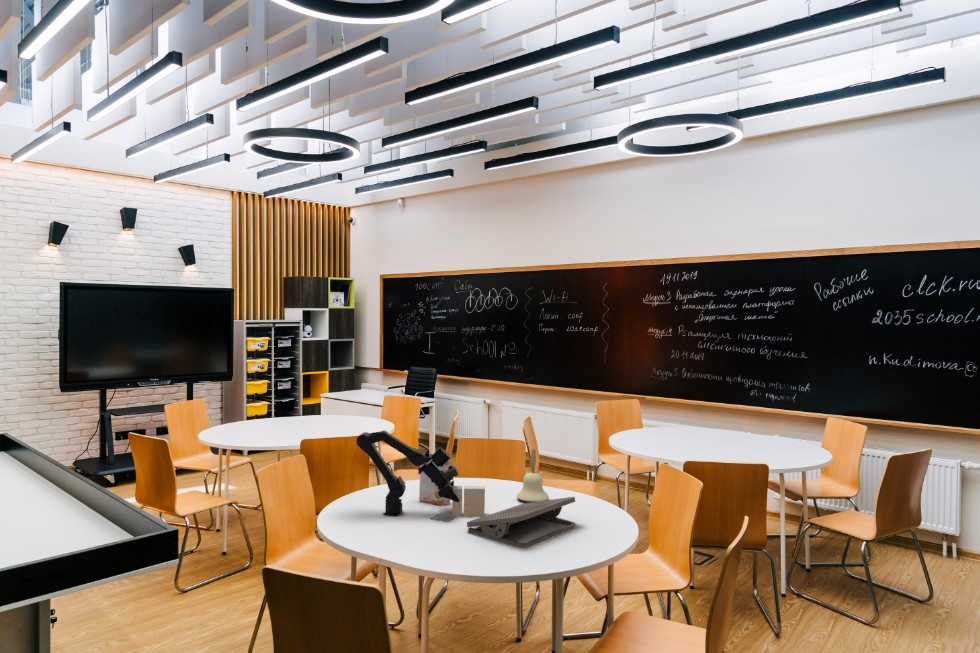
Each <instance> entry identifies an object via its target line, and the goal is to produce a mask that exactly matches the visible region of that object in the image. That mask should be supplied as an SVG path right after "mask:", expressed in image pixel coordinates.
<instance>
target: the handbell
mask: <svg viewBox="0 0 980 653" xmlns="http://www.w3.org/2000/svg"><path fill="white" fill-rule="evenodd" d="M536 453H537V452H536V448H535V447H532V448H531V450H530V470H531V471H530V472H527V473H526V474H525V475H524V476H523V479H522V484H523V485H522V489H521V490H520V491H519V492H518V493H517V494H516V498H517V499H519V500H521V501H523V502H524V501H525V502H530V503H531V502H539V501H546V500H549V494H548V493H547V492H546V491H545V490H544V487H543V477H542V475H541V474H540V473H538V472H535V470H536V465H537V464H536V463H537V455H536Z"/></svg>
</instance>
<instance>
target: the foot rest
mask: <svg viewBox="0 0 980 653" xmlns="http://www.w3.org/2000/svg"><path fill="white" fill-rule="evenodd" d="M575 502H576V497H575V496H569V497H563V498H554V499H547V500H545V501H538V502H531V501H530V502H525V503H520V504H518V505H515V506H512V507H509V508H506V509H503V510H499V511H496V512H494V513H491V514H486V515H484V516H480V517H478V518H475V519H472V520H470V521H469V520H468V521H467V522H466V527H467V532H468V533H471V534H474V535H477V536H481V537H484V538H487V539H491V540H493V541H496V542H500V543H503V544H506V545H509V546H512V547H515V548H519V549H526V548H530V547H532V546H535V545H537V544H540V543H541V542H544V541H546V540H548V539H552V538H554V537H556V536H558V535H559V536H560V535H561V534H563V533H566V532H568V531H570V530H573V529H575V528H576V522H575V521H572V520H569V519H568V520H567V519H564V518H560V517H559V515H560V513H561V511H562V509H563V508H562V507H564V506H567V505H570V504H573V503H575ZM534 517H535V518H537V517H538V518H541V519H544V520H547V521H548V520H549V521H551V522H555V523H560V524H562V525H565V526H563V527H561V528H558V529H556V530H554V531H551V532H549V533H545V534H544V535H543V534H542V535H541V536H539V537H536V538H534V539H532V540H528V541H526V542H519V541H516V540H513V539H509V538H507V537H505V536H506V535H507V534H508V532H509V530H510V525H514V524H516V523H519V522H521V521H525V520H528V519H531V518H534ZM474 527H480V529H477V528H474Z"/></svg>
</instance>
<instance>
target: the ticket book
mask: <svg viewBox="0 0 980 653" xmlns="http://www.w3.org/2000/svg"><path fill="white" fill-rule="evenodd" d="M485 501H486V487H485V485H464V487H463V517H484V516H485V508H486V507H485V506H486V503H485Z"/></svg>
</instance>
